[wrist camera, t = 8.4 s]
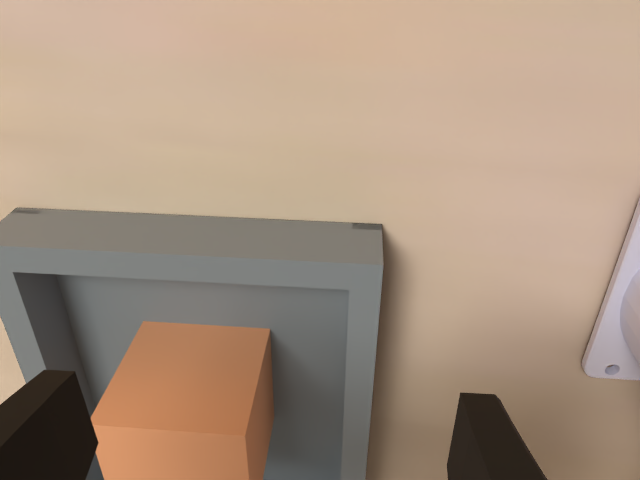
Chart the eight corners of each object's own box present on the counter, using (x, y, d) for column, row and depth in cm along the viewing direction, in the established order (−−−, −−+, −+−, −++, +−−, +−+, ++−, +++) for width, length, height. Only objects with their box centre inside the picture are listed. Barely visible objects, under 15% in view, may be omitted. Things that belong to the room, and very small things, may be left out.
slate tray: (381, 224, 19) (383, 265, 17) (360, 491, 27) (359, 542, 24) (16, 207, 19) (-27, 244, 17) (100, 472, 27) (78, 520, 25)
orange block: (270, 328, 21) (245, 435, 17) (274, 417, 24) (253, 529, 19) (143, 321, 21) (86, 424, 17) (161, 409, 24) (116, 518, 20)
